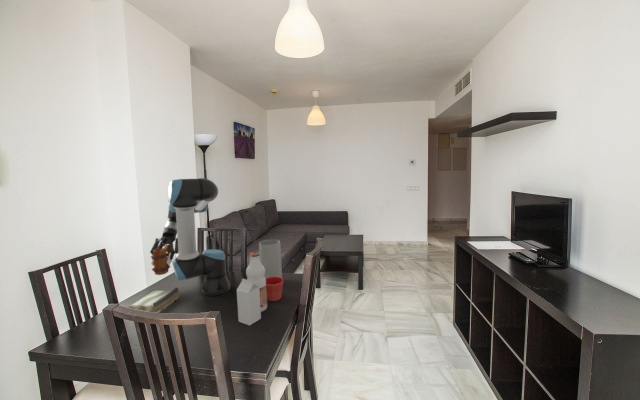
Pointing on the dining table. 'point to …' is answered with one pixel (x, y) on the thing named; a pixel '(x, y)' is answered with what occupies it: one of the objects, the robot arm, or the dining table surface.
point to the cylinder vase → (271, 257)
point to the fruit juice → (257, 277)
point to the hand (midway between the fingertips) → (160, 264)
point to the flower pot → (274, 288)
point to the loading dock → (156, 300)
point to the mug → (161, 260)
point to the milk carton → (248, 302)
